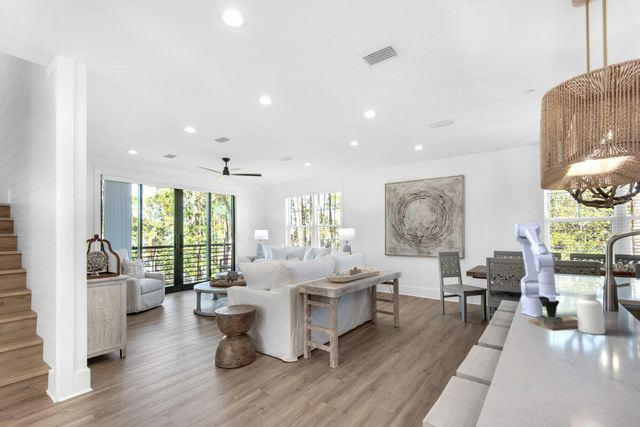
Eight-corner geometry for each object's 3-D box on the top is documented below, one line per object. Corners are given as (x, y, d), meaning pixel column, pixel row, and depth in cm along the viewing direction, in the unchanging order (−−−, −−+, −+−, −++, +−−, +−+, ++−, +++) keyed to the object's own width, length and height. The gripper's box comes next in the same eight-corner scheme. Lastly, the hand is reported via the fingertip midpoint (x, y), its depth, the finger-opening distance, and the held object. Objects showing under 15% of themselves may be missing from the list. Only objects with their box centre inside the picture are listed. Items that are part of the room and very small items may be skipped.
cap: (554, 319, 127) (553, 309, 127) (540, 317, 131) (539, 307, 131) (559, 317, 130) (558, 307, 130) (545, 315, 134) (545, 305, 134)
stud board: (529, 322, 137) (528, 314, 137) (566, 319, 138) (565, 311, 139) (552, 330, 125) (551, 321, 125) (592, 327, 127) (591, 318, 127)
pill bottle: (594, 328, 125) (590, 290, 126) (611, 335, 117) (606, 294, 118) (573, 329, 125) (569, 291, 126) (588, 335, 117) (584, 295, 119)
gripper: (563, 285, 123) (567, 320, 122) (553, 280, 136) (556, 312, 135) (542, 285, 126) (545, 319, 125) (534, 280, 139) (537, 311, 138)
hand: (549, 315), depth 130 cm, fingers closed on cap, 5 cm apart
